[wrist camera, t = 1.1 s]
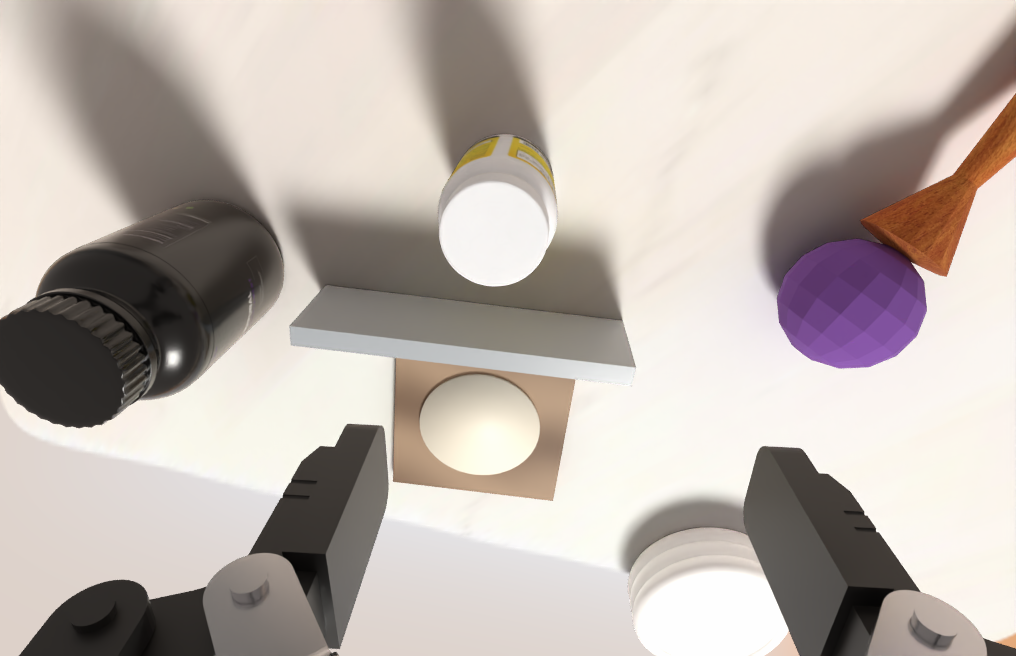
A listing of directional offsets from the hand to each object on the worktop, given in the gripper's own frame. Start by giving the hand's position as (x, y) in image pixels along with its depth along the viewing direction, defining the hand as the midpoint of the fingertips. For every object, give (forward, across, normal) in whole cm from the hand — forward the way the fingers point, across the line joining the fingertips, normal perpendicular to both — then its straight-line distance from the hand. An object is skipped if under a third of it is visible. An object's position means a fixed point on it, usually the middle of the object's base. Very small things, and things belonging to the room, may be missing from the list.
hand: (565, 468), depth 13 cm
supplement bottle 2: (+19, +2, -2) cm, 19 cm away
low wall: (+18, +4, +5) cm, 19 cm away
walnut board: (+19, +3, +12) cm, 22 cm away
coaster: (+19, -12, +24) cm, 33 cm away
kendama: (+19, -18, -4) cm, 26 cm away
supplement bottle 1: (+19, +17, +2) cm, 26 cm away
